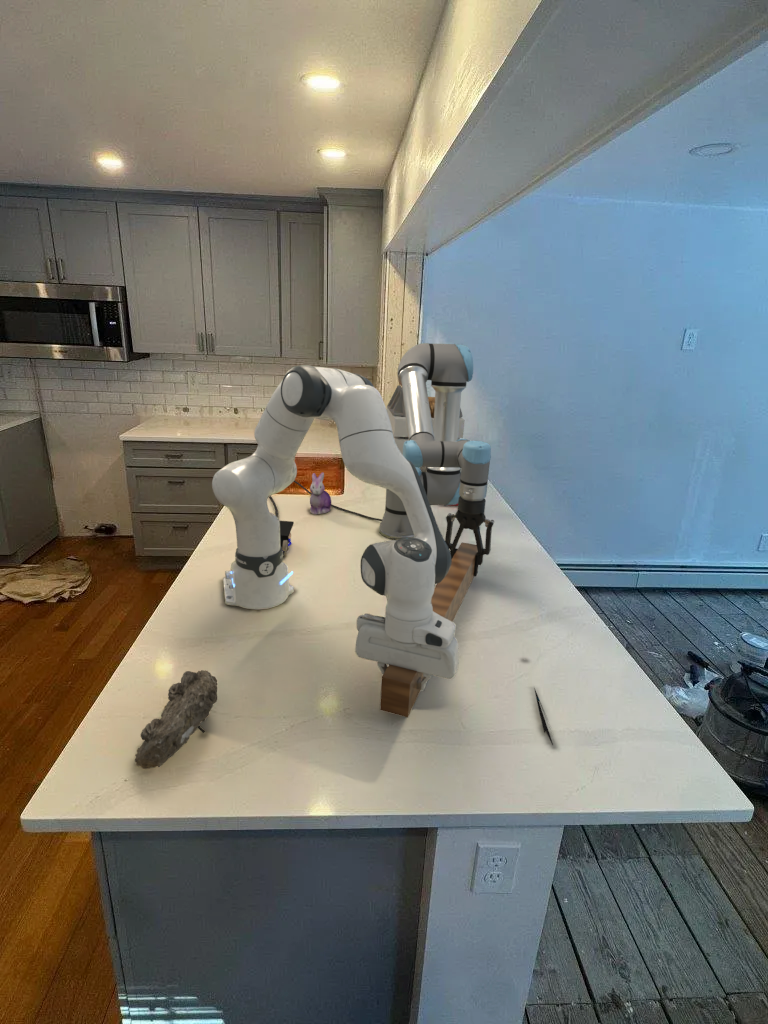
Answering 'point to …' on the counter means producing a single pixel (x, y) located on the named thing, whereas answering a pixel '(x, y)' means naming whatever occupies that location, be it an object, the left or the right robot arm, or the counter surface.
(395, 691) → the post
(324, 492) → the figurine
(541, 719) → the feather
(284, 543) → the figurine character
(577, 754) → the counter surface
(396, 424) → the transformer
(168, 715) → the fossil
